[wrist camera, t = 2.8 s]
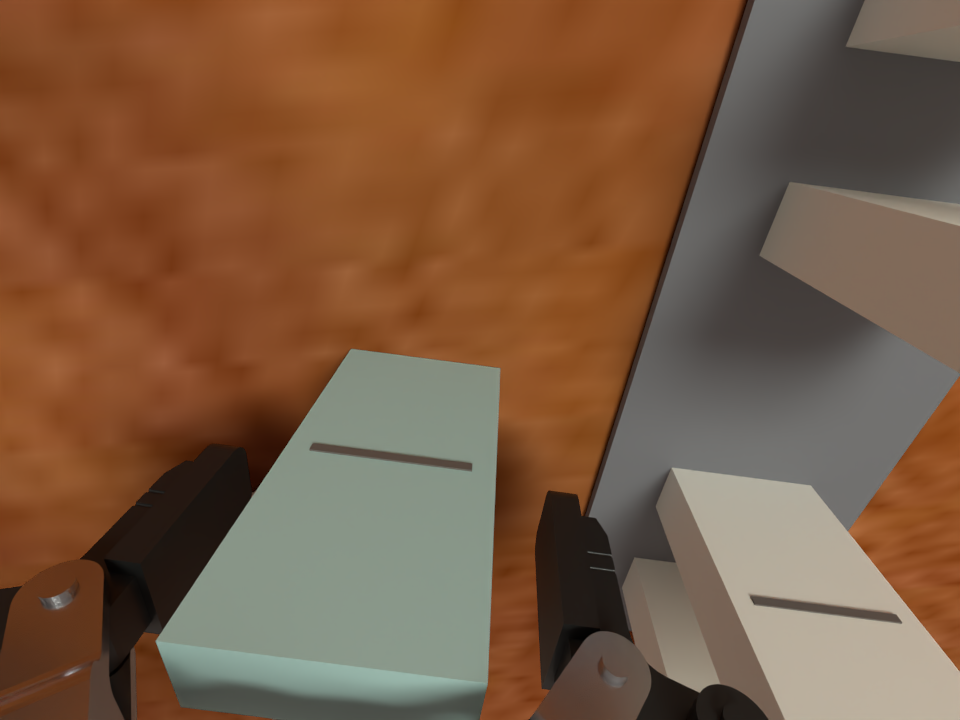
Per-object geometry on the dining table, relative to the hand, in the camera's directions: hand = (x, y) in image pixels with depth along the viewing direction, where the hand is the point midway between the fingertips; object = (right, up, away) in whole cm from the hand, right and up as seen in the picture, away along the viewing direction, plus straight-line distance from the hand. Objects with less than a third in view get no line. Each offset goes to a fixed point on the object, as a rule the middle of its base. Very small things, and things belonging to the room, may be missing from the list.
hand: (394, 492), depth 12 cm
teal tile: (0, +3, +4) cm, 5 cm away
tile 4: (+12, -2, +5) cm, 13 cm away
